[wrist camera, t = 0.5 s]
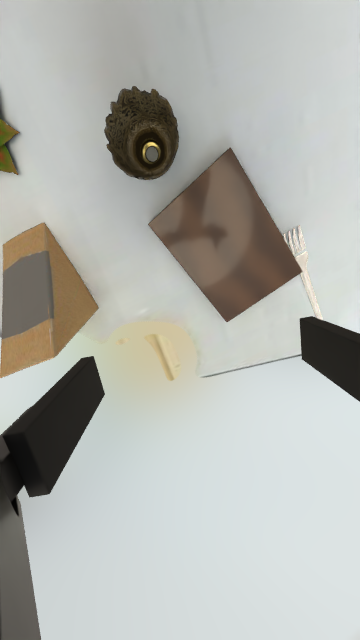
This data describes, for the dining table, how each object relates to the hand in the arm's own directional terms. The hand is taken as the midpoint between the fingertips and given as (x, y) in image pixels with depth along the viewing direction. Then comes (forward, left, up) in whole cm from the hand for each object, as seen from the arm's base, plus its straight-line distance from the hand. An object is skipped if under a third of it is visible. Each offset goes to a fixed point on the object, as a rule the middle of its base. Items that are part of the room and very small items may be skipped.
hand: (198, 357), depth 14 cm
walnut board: (-6, +1, -24) cm, 25 cm away
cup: (-5, -15, -24) cm, 29 cm away
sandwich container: (+19, -13, -24) cm, 33 cm away
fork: (-13, +14, -25) cm, 32 cm away
